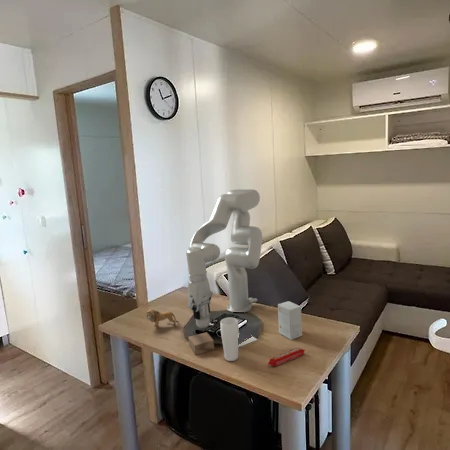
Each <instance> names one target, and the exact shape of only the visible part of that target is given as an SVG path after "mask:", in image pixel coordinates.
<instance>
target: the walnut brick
mask: <svg viewBox="0 0 450 450" xmlns="http://www.w3.org/2000/svg"><path fill="white" fill-rule="evenodd" d="M214 341H215V340H214V339H213V337H211V335H210V334H209V333H208V332H207V331H206V332H203V333H199V334H194V335H190V336H188V346H189V348H190V349H191V351H192V353H193V354H194V355H199V354H204V353H208V352H210V351H214V350H215V344H214V343H215V342H214Z"/></svg>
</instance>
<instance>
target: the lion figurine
mask: <svg viewBox="0 0 450 450" xmlns="http://www.w3.org/2000/svg"><path fill="white" fill-rule="evenodd" d="M145 317H146V319H147V320H148V321H150V322H151V323H154V325H153V326H154V327H155V329H156V330H157V329H159V327H160V325H159V323H160V321H165V320H168V322H167V323H166V324H167V325H170V324H171V323H173V324H172V326H173V327H175V326H176V325H177V323H179V322H180V321H178V320H177V319H176V316H175V314H174V313H173V312H171V311H168V310H167V311H165V312H160V311H157V310H154V309H148V310H147V311H146V312H145Z"/></svg>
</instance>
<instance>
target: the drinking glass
mask: <svg viewBox="0 0 450 450" xmlns="http://www.w3.org/2000/svg"><path fill="white" fill-rule="evenodd" d="M219 323H220V325H219V326H220V327H219V328H220V335H221V340H222V341H221V342H222V348H223V356H224V359H225V360H226V361H228V362H234V361H237V360H238V359H239V347H238V338H239V334H240V332H239V331H240V330H239V320H238V319H237V318H235V317H231V316H230V317H225V318H223V319H221V320H220V322H219Z"/></svg>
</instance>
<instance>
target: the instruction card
mask: <svg viewBox="0 0 450 450" xmlns="http://www.w3.org/2000/svg"><path fill="white" fill-rule="evenodd" d="M251 336H252V337H251V338H249V339H247V338H246V339H247V340H246V339H244V340H246V341H244V342H242V343H241V344H239V345H238V348H240V347H243V346H245V345H248V344H250V343H253V342H255V341H257V340H258V339H257V338H256V337H255V336H253V335H251Z"/></svg>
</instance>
